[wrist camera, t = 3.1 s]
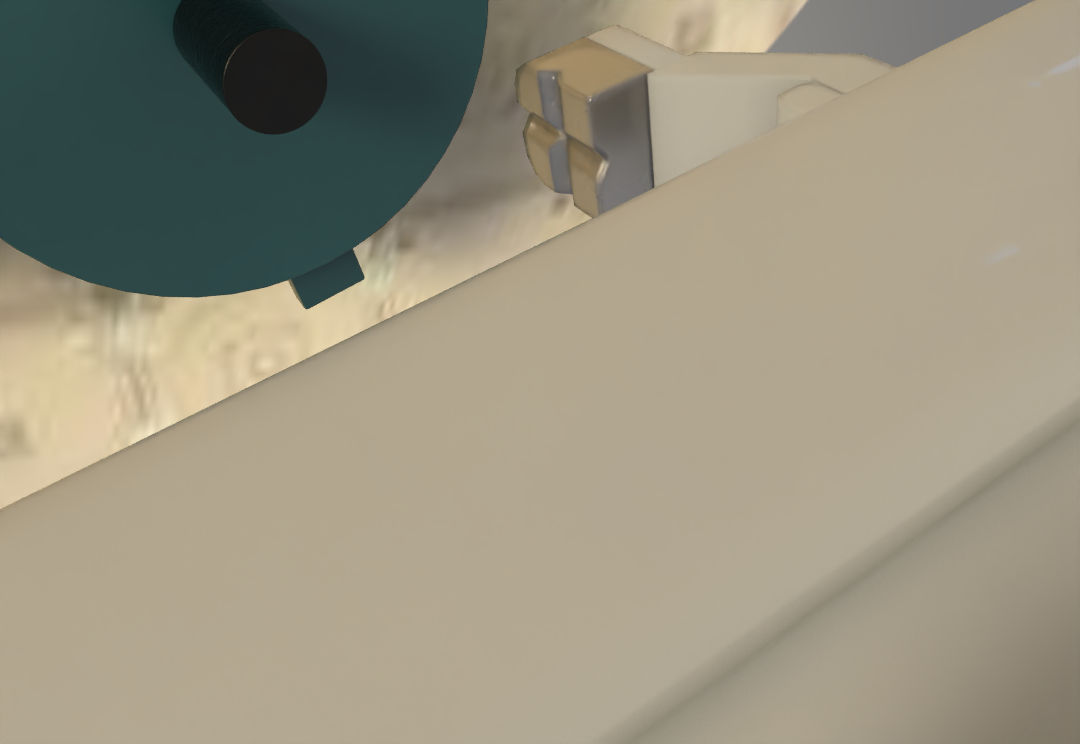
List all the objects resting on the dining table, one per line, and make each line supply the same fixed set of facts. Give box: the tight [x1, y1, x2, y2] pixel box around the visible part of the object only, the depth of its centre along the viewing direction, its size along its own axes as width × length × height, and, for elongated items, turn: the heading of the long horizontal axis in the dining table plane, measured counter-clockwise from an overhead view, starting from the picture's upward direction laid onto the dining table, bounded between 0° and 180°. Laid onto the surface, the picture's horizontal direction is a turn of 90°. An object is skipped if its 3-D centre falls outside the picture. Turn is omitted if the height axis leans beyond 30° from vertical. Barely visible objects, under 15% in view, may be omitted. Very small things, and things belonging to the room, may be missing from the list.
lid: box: [0, 0, 488, 297], centre depth 26 cm, size 17×17×6 cm
